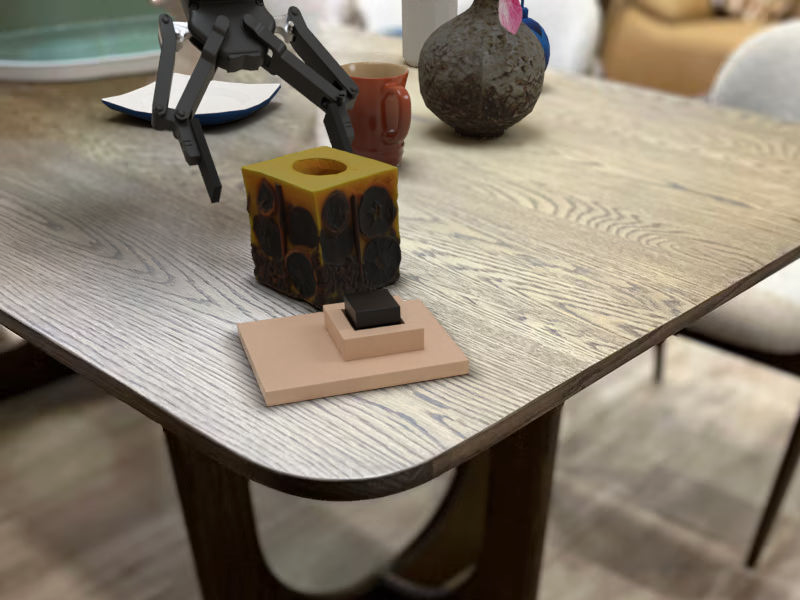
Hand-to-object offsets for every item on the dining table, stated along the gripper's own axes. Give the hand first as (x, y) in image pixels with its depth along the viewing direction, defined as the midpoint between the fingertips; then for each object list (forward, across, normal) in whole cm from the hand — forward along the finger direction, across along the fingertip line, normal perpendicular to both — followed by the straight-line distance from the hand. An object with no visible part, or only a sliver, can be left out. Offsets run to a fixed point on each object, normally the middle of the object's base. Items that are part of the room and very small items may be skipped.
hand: (286, 185), depth 80 cm
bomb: (-31, +58, +39) cm, 76 cm away
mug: (-10, +20, +19) cm, 29 cm away
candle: (+11, 0, -2) cm, 11 cm away
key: (+19, -2, -14) cm, 24 cm away
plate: (-35, +7, +44) cm, 57 cm away
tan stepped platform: (+21, -4, -12) cm, 24 cm away
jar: (-47, +54, +56) cm, 90 cm away
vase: (-16, +39, +25) cm, 49 cm away
